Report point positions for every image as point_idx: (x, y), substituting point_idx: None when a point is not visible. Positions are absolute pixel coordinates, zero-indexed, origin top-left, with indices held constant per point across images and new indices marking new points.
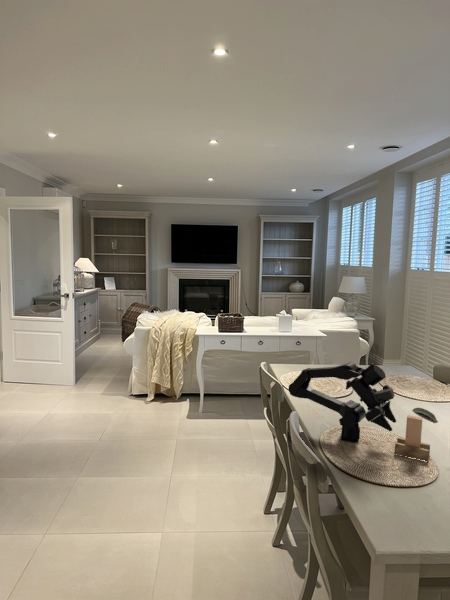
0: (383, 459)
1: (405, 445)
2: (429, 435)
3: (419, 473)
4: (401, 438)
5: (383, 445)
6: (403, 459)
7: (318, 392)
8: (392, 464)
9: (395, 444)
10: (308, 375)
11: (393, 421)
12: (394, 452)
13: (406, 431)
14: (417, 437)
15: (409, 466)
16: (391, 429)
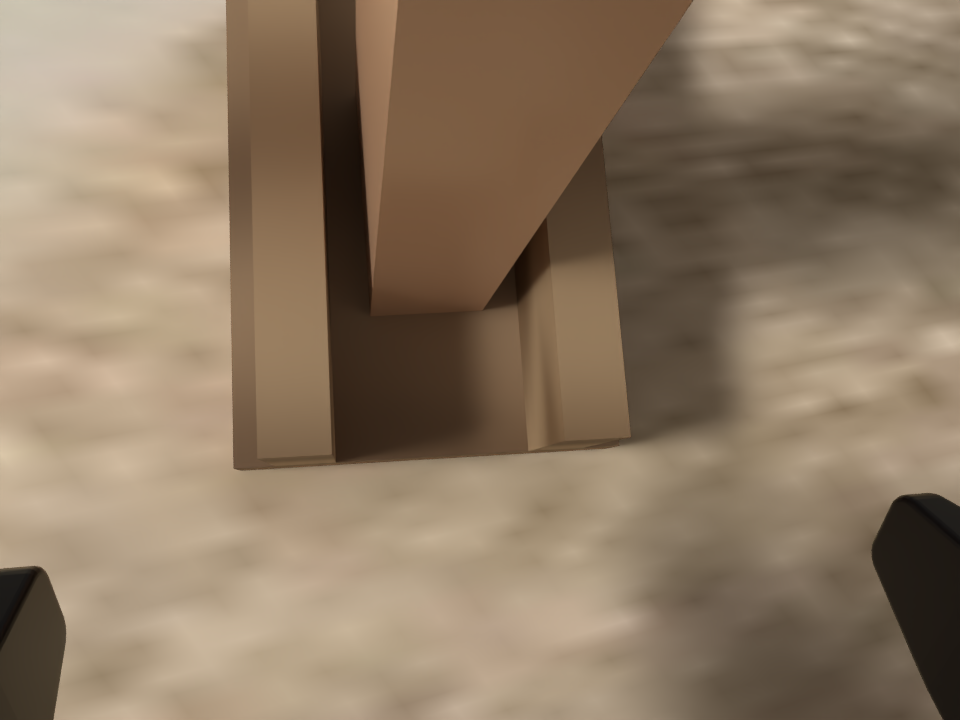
0: (856, 547)
1: (596, 250)
2: None
3: (909, 74)
4: (296, 376)
5: (355, 694)
6: (666, 300)
7: None
8: (912, 401)
9: (620, 433)
10: None
11: (50, 669)
12: (616, 443)
13: (580, 152)
14: None
15: (815, 199)
16: (956, 516)
